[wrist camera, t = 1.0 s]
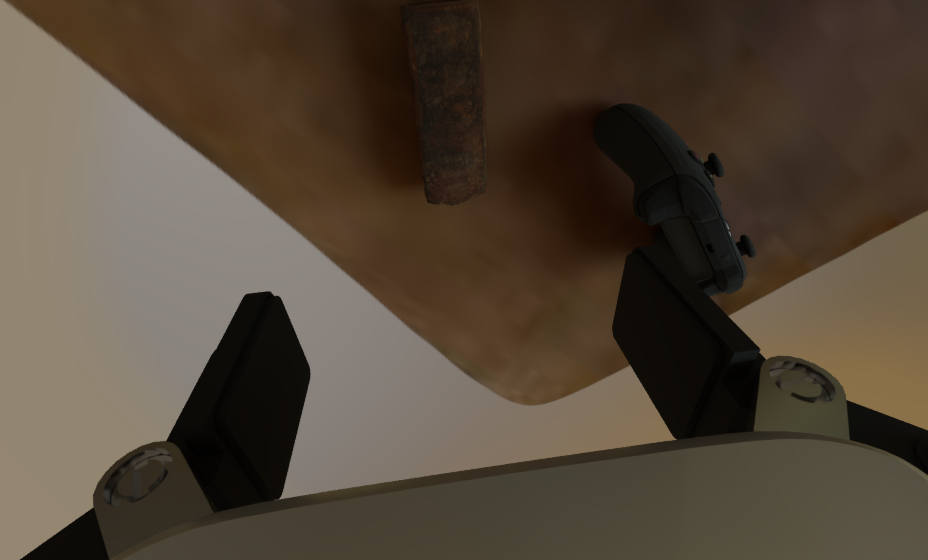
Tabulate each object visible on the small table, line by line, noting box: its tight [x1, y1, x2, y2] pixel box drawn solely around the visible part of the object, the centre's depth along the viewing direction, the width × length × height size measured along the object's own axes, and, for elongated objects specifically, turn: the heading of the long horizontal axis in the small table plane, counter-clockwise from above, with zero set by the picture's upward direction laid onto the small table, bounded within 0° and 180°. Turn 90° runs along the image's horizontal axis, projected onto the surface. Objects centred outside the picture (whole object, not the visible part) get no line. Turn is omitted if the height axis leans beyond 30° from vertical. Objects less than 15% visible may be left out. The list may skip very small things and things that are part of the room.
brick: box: [401, 0, 487, 206], centre depth 24 cm, size 11×4×5 cm, turn 4°
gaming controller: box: [594, 104, 756, 297], centre depth 27 cm, size 14×6×10 cm, turn 37°
